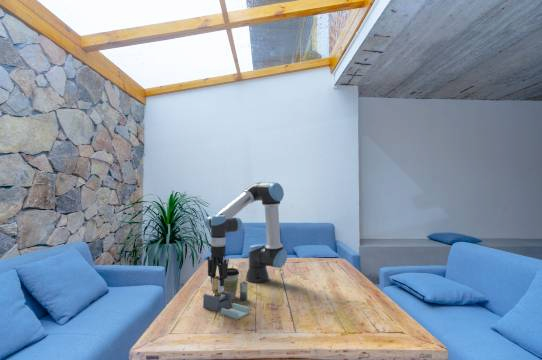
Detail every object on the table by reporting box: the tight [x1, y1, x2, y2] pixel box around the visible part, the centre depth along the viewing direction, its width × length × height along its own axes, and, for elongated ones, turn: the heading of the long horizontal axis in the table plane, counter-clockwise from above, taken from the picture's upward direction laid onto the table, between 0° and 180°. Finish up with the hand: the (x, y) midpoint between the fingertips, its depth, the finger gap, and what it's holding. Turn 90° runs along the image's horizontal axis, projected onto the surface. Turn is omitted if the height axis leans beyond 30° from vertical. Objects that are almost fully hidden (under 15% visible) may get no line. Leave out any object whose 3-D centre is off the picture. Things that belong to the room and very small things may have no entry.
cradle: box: [202, 291, 232, 313], centre depth 160 cm, size 10×10×6 cm
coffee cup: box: [223, 267, 240, 300], centre depth 174 cm, size 10×10×15 cm
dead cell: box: [239, 281, 248, 302], centre depth 170 cm, size 4×4×10 cm
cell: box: [212, 275, 221, 297], centre depth 160 cm, size 4×4×10 cm
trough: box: [220, 302, 251, 320], centre depth 151 cm, size 9×10×3 cm
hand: (217, 291), depth 160 cm, fingers closed on cell, 4 cm apart
